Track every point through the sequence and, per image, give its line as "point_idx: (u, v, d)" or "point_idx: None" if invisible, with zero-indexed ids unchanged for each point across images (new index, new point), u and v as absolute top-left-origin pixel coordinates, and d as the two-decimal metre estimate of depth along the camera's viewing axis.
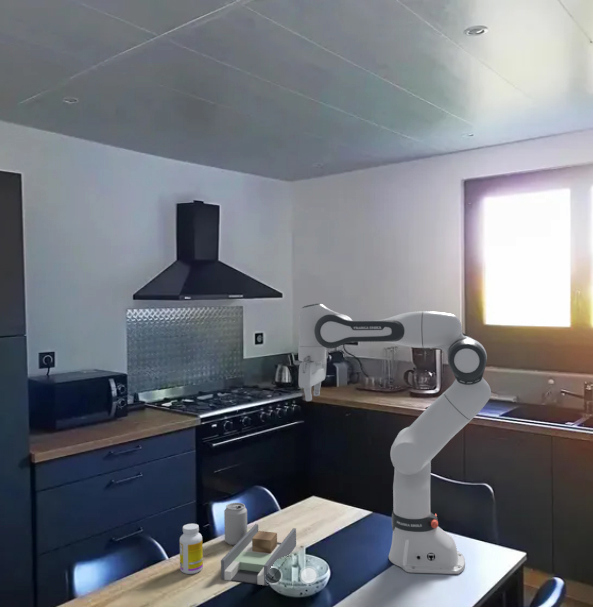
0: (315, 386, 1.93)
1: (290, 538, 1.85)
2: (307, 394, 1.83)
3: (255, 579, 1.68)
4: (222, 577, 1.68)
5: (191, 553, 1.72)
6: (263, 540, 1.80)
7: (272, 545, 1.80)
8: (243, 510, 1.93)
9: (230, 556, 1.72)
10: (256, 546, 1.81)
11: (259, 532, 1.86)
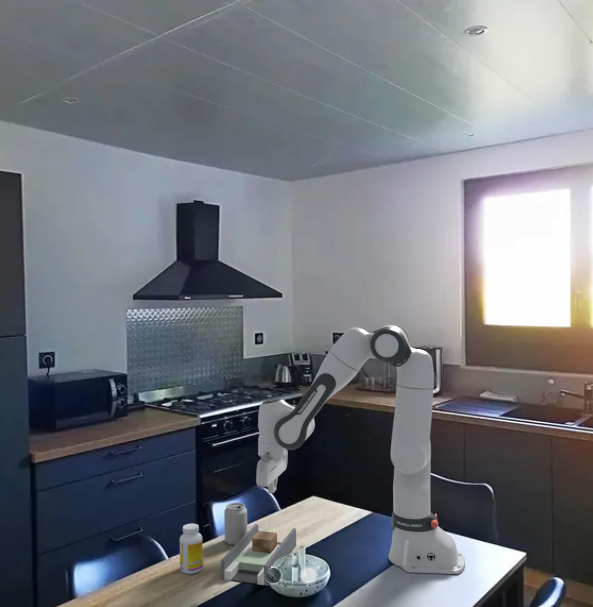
0: None
1: (290, 538, 1.85)
2: (270, 486, 1.89)
3: (255, 579, 1.68)
4: (222, 577, 1.68)
5: (191, 553, 1.72)
6: (263, 540, 1.80)
7: (272, 545, 1.80)
8: (243, 510, 1.93)
9: (230, 556, 1.72)
10: (256, 546, 1.81)
11: (259, 532, 1.86)
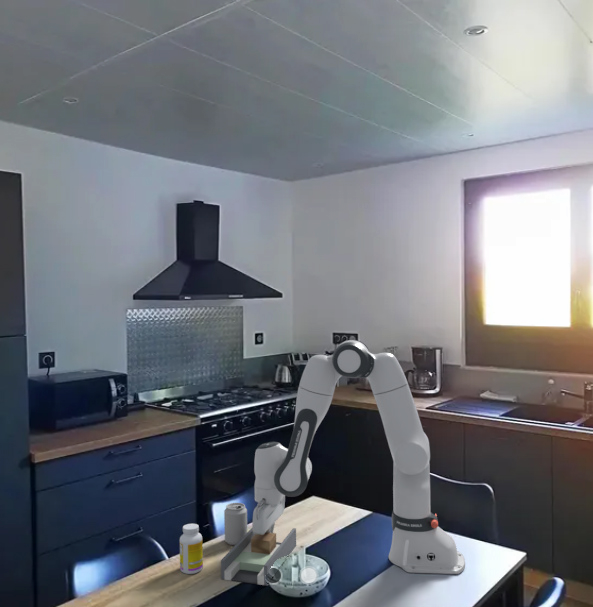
0: None
1: (290, 538, 1.85)
2: None
3: (255, 579, 1.68)
4: (222, 577, 1.68)
5: (191, 553, 1.72)
6: (262, 541, 1.79)
7: (271, 546, 1.80)
8: (243, 510, 1.93)
9: (230, 556, 1.72)
10: (255, 546, 1.80)
11: None
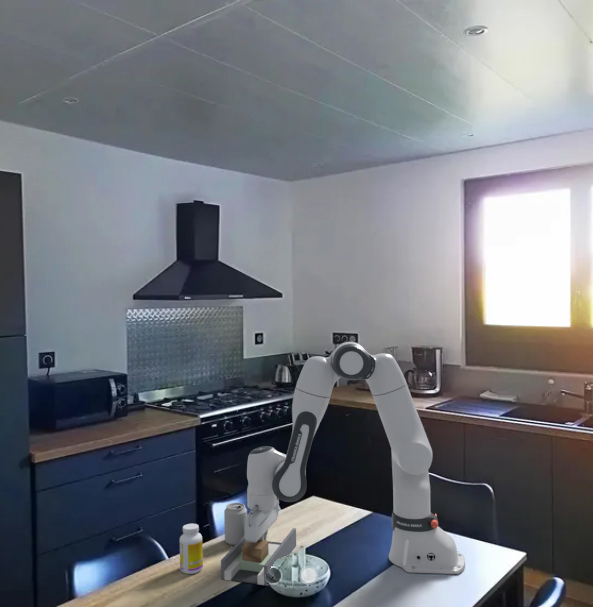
0: None
1: (290, 538, 1.85)
2: None
3: (255, 579, 1.68)
4: (222, 577, 1.68)
5: (191, 553, 1.72)
6: (253, 549, 1.74)
7: (263, 554, 1.74)
8: (243, 510, 1.93)
9: (230, 556, 1.72)
10: (246, 555, 1.74)
11: None
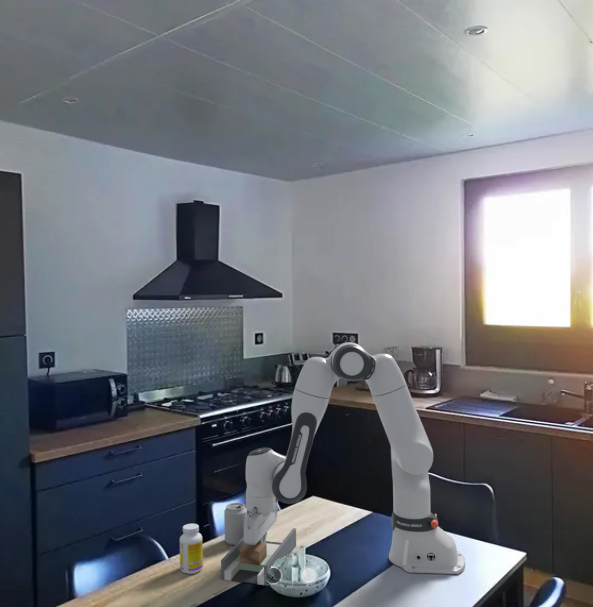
0: None
1: (290, 538, 1.85)
2: None
3: (255, 579, 1.68)
4: (222, 577, 1.68)
5: (191, 553, 1.72)
6: (251, 551, 1.72)
7: (261, 556, 1.73)
8: (243, 510, 1.93)
9: (230, 556, 1.72)
10: (244, 557, 1.73)
11: None
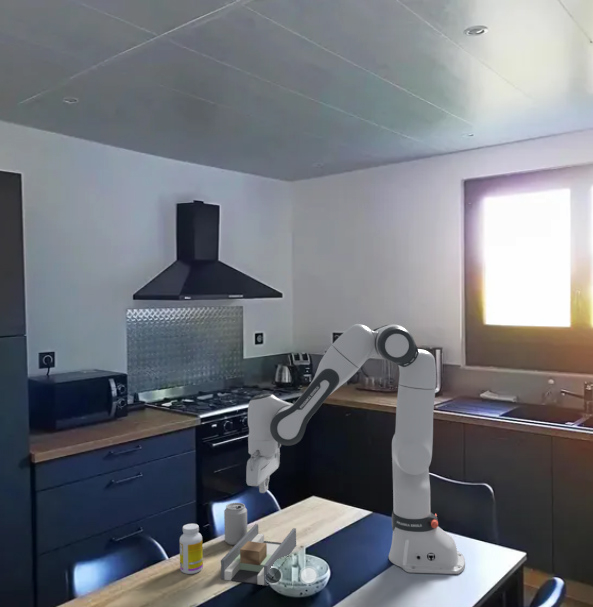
0: None
1: (290, 538, 1.85)
2: (261, 486, 1.81)
3: (255, 579, 1.68)
4: (222, 577, 1.68)
5: (191, 553, 1.72)
6: (251, 551, 1.72)
7: (261, 556, 1.73)
8: (243, 510, 1.93)
9: (230, 556, 1.72)
10: (244, 557, 1.73)
11: (247, 542, 1.78)
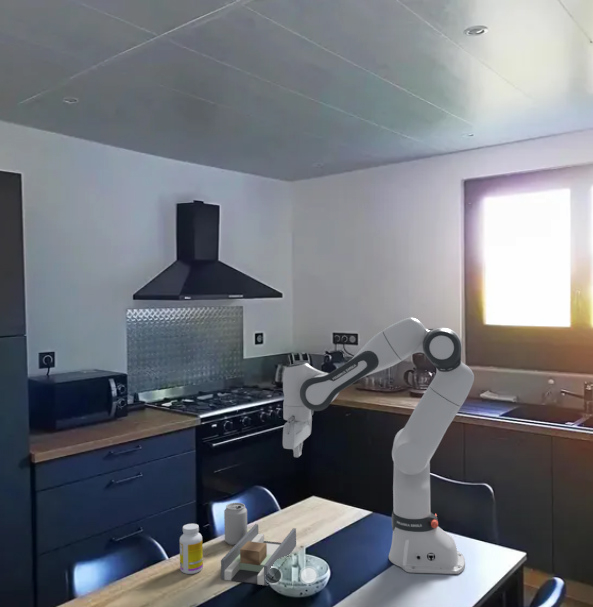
0: None
1: (290, 538, 1.85)
2: (295, 450, 1.88)
3: (255, 579, 1.68)
4: (222, 577, 1.68)
5: (191, 553, 1.72)
6: (251, 551, 1.72)
7: (261, 556, 1.73)
8: (243, 510, 1.93)
9: (230, 556, 1.72)
10: (244, 557, 1.73)
11: (247, 542, 1.78)
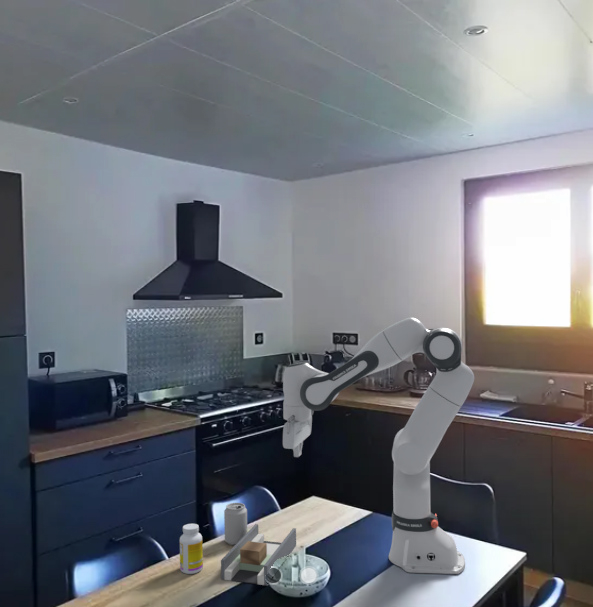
0: None
1: (290, 538, 1.85)
2: (295, 450, 1.88)
3: (255, 579, 1.68)
4: (222, 577, 1.68)
5: (191, 553, 1.72)
6: (251, 551, 1.72)
7: (261, 556, 1.73)
8: (243, 510, 1.93)
9: (230, 556, 1.72)
10: (244, 557, 1.73)
11: (247, 542, 1.78)
